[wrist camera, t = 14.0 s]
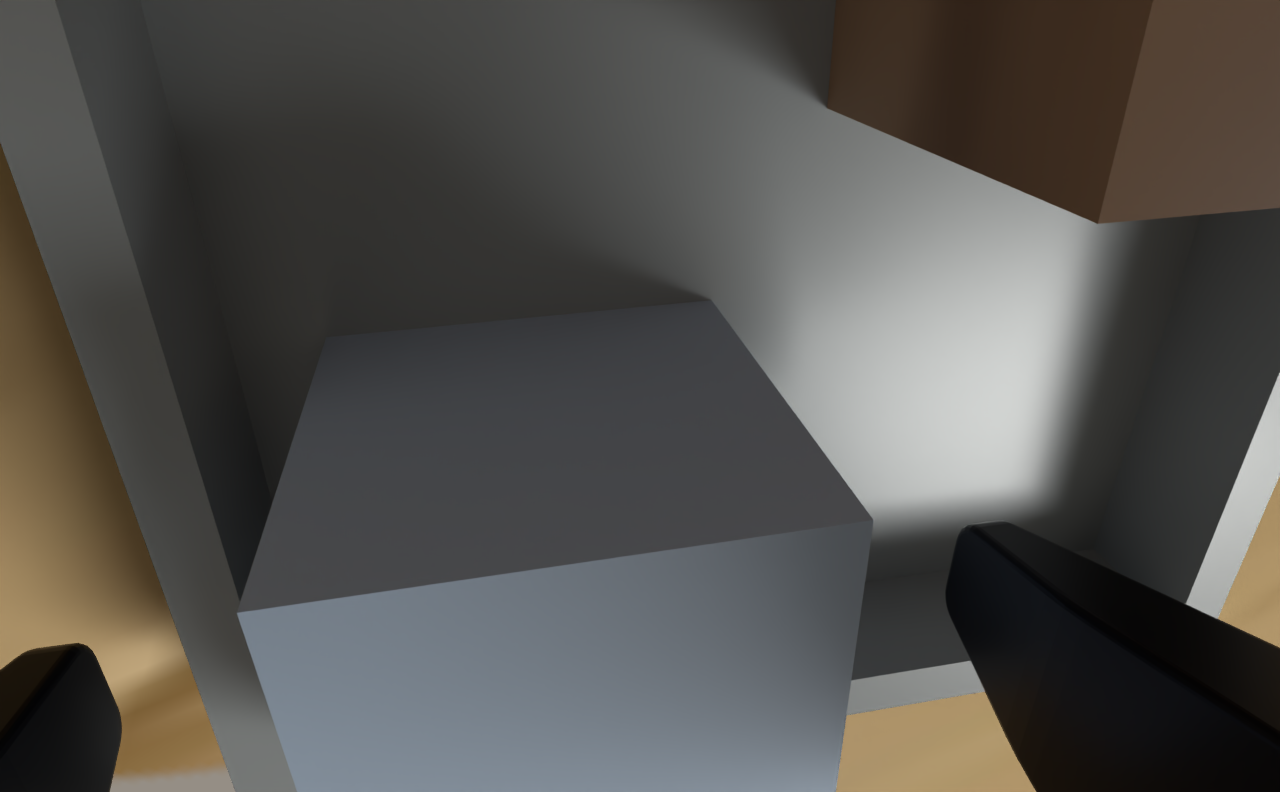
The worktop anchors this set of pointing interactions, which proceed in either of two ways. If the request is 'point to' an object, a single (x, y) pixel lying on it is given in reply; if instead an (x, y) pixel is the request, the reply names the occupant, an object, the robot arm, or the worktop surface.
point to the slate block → (557, 565)
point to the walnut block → (1077, 96)
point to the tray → (620, 282)
